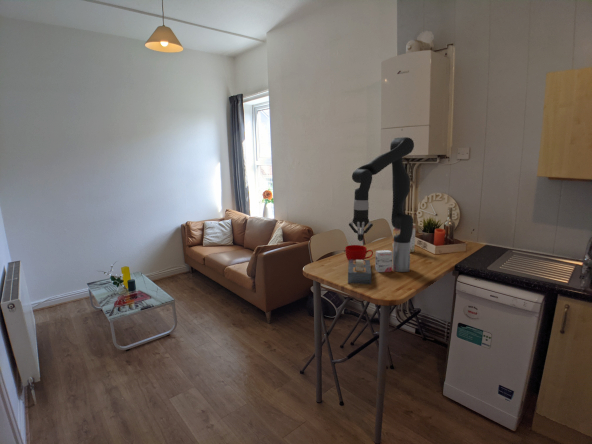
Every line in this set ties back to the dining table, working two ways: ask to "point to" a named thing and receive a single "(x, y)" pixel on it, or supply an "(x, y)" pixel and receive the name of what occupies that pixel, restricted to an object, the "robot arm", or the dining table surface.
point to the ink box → (383, 261)
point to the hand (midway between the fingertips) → (360, 240)
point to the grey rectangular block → (359, 265)
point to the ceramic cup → (356, 252)
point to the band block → (359, 273)
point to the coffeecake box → (412, 241)
